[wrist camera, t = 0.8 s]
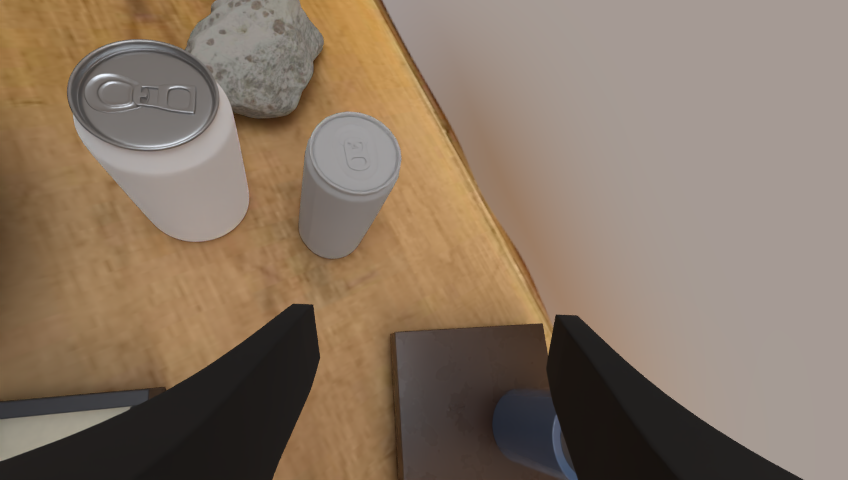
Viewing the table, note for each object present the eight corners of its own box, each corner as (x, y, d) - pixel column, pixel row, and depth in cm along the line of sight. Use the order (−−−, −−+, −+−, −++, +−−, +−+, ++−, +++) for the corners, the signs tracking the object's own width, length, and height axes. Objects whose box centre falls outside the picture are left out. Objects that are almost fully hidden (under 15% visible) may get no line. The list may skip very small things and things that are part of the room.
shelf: (559, 520, 29) (577, 530, 27) (400, 560, 25) (409, 574, 24) (528, 326, 33) (542, 323, 32) (388, 334, 29) (395, 332, 28)
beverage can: (356, 197, 32) (392, 107, 21) (368, 255, 31) (413, 191, 20) (293, 204, 30) (297, 110, 19) (304, 265, 29) (315, 201, 18)
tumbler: (559, 458, 29) (637, 482, 22) (497, 470, 27) (562, 500, 21) (547, 384, 30) (617, 387, 24) (487, 391, 28) (545, 396, 22)
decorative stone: (338, 129, 33) (347, 90, 29) (191, 134, 29) (174, 90, 25) (313, 9, 36) (318, -43, 32) (176, -1, 32) (159, -61, 28)
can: (149, 156, 28) (64, 20, 17) (250, 160, 30) (230, 41, 19) (142, 245, 26) (41, 155, 15) (250, 243, 28) (228, 162, 18)
